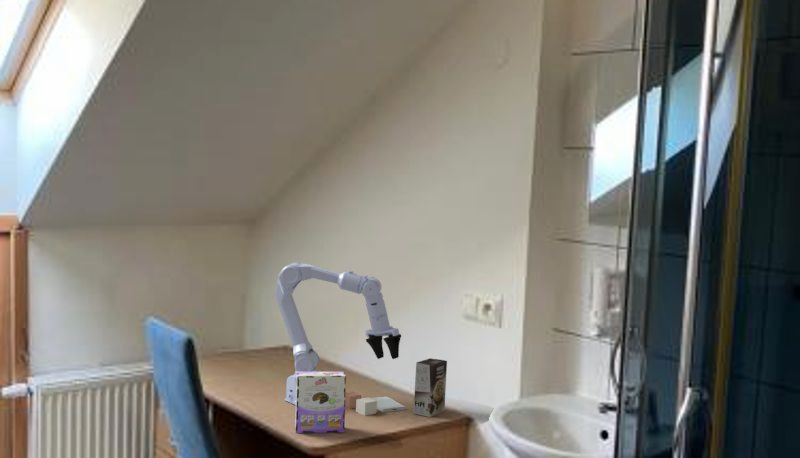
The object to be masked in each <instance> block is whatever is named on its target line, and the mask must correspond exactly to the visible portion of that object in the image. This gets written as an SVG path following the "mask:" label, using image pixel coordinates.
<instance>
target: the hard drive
mask: <svg viewBox="0 0 800 458" xmlns="http://www.w3.org/2000/svg"><path fill="white" fill-rule="evenodd" d="M370 398H371V399H373V400H376V401H377V410H378V411H380V412H382V413H387V412H397V411H406V410H407V406H405V405H403V404H401V403H399V402H397V401H396V400H394V399H392V398H391V397H389V396H379V397H378V396H377V397H370Z"/></svg>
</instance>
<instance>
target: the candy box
mask: <svg viewBox="0 0 800 458" xmlns="http://www.w3.org/2000/svg"><path fill="white" fill-rule="evenodd" d="M346 380H347V375H346V373H345V372H344V371H340V370H339V371H323V370H322V371H318V372H313V371H312V372H304V371H301V372H298V371H297V381H296V405H295V412H294V413H295V415H294V416H295V417H294V433H296V434H307V433H308V434H315V433H316V434H317V433H319V434H320V433H321V434H323V433H328V434H330V433H345V425H346V424H345V420H346V419H345V418H346V416H345V415H346V408H345V393H346V386H347V385H346V383H347V381H346Z"/></svg>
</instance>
